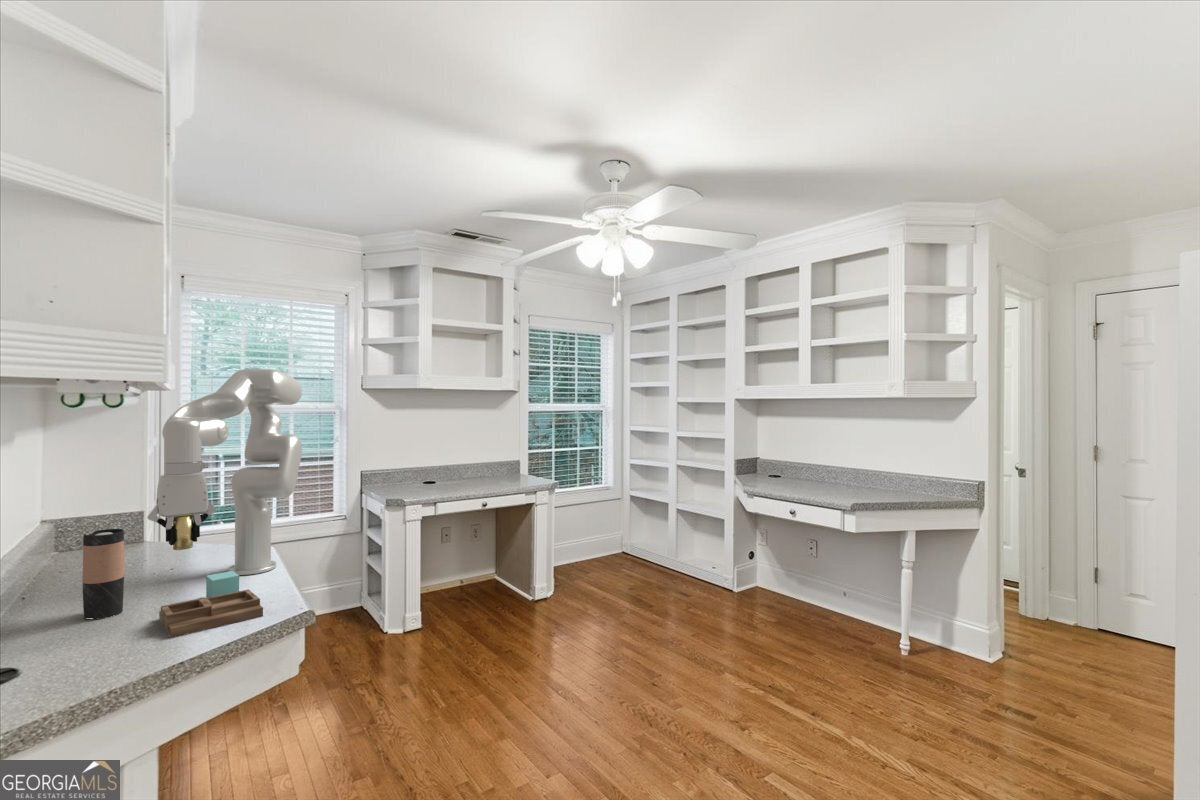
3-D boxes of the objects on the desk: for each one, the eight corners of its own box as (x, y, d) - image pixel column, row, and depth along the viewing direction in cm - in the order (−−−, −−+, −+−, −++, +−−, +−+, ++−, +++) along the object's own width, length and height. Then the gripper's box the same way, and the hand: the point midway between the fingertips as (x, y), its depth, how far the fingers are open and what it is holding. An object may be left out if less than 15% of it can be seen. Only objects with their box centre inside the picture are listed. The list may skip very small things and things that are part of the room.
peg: (171, 547, 141) (171, 515, 141) (191, 544, 144) (191, 513, 144) (174, 551, 138) (174, 518, 138) (194, 547, 141) (194, 515, 141)
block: (206, 598, 150) (206, 575, 150) (232, 592, 154) (232, 570, 154) (212, 604, 145) (212, 580, 146) (239, 598, 150) (239, 575, 150)
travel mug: (125, 614, 138) (125, 532, 138) (83, 623, 133) (83, 537, 133) (122, 606, 143) (122, 527, 143) (81, 614, 138) (82, 532, 138)
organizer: (158, 619, 135) (158, 602, 135) (245, 600, 148) (246, 585, 148) (169, 638, 124) (169, 619, 124) (262, 615, 137) (263, 599, 137)
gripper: (219, 464, 150) (218, 534, 150) (137, 470, 138) (137, 545, 138) (226, 467, 144) (226, 539, 144) (142, 473, 132) (142, 551, 132)
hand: (182, 541), depth 141 cm, fingers closed on peg, 4 cm apart
